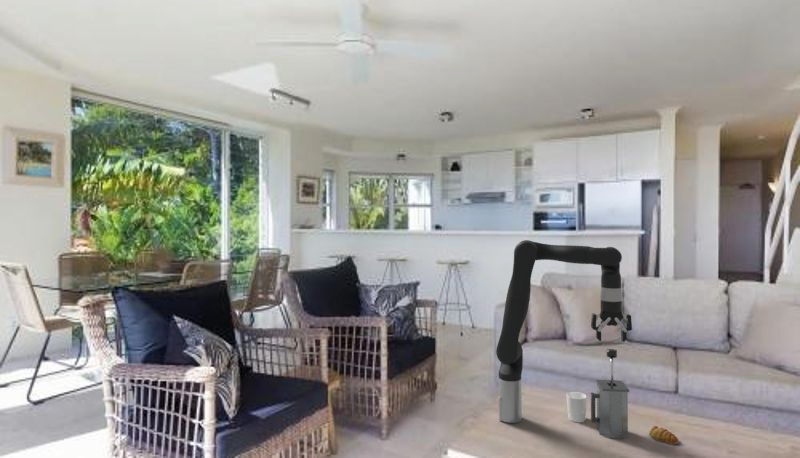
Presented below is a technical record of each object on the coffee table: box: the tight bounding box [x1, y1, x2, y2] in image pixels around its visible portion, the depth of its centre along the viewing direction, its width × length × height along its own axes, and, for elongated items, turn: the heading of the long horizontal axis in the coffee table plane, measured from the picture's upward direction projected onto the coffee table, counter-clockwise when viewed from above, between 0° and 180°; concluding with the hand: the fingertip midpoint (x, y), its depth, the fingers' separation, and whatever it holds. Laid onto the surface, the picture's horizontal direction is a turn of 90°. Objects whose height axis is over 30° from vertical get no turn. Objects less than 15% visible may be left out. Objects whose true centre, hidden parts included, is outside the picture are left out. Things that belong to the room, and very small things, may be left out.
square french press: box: [590, 379, 630, 440], centre depth 182 cm, size 13×10×19 cm
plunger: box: [606, 348, 618, 386], centre depth 181 cm, size 8×8×15 cm
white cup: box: [565, 391, 588, 423], centre depth 194 cm, size 8×8×10 cm
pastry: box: [648, 425, 679, 445], centre depth 176 cm, size 9×7×4 cm
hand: (611, 340), depth 181 cm, fingers open, 8 cm apart
